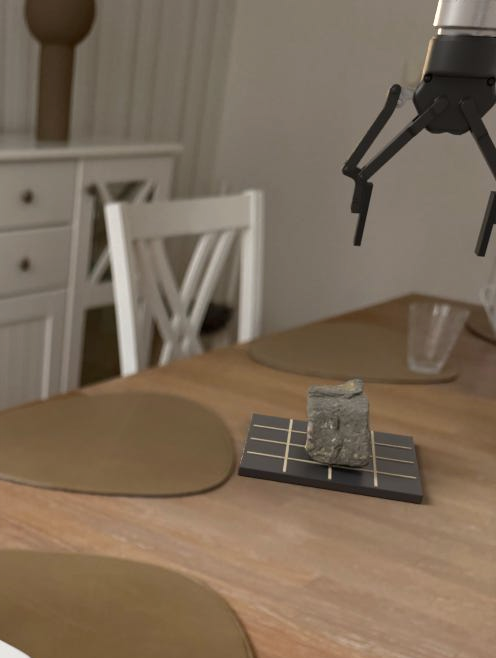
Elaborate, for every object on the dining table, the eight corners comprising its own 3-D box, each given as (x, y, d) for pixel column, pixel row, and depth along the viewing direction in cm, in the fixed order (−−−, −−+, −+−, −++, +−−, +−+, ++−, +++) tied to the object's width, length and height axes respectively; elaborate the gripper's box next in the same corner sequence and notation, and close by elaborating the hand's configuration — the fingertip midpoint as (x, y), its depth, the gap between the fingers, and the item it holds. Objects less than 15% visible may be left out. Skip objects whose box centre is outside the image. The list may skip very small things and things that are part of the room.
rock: (272, 386, 121) (352, 368, 121) (276, 438, 125) (354, 420, 124) (316, 429, 106) (408, 409, 106) (319, 487, 110) (408, 468, 109)
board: (410, 444, 124) (413, 435, 123) (421, 504, 107) (423, 494, 106) (251, 420, 128) (252, 411, 127) (237, 474, 111) (239, 465, 111)
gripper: (590, 39, 103) (526, 253, 114) (345, 29, 108) (307, 234, 119) (607, 39, 97) (538, 265, 108) (347, 28, 101) (306, 245, 113)
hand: (417, 249), depth 113 cm, fingers open, 13 cm apart
